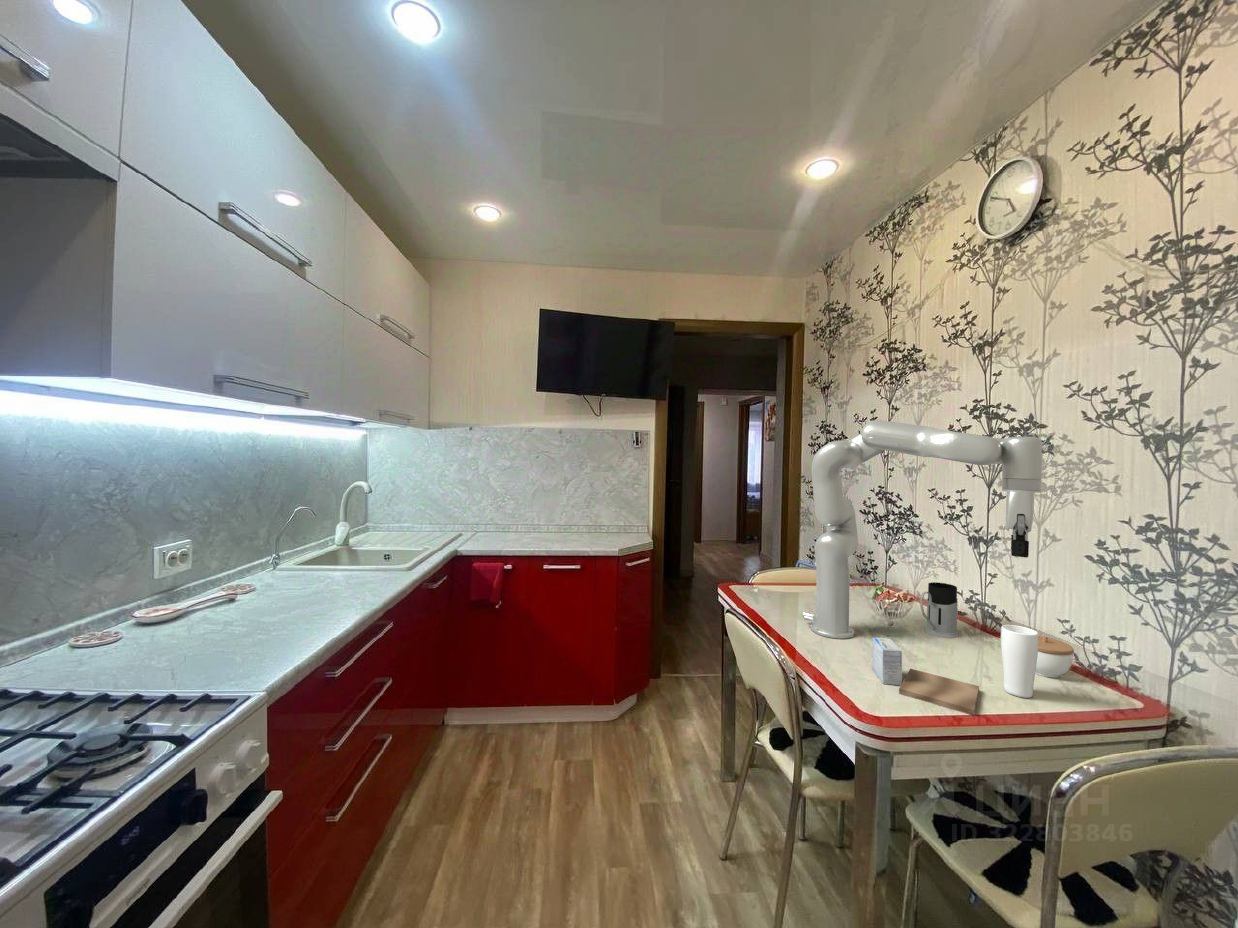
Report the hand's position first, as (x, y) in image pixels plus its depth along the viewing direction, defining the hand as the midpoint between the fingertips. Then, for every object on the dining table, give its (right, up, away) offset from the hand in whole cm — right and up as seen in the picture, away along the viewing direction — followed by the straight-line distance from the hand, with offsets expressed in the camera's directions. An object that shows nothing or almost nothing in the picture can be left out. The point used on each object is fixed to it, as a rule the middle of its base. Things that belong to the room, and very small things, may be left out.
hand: (1019, 553), depth 120 cm
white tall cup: (-8, -31, -9) cm, 33 cm away
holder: (-2, -31, +29) cm, 42 cm away
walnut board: (-26, -31, -9) cm, 41 cm away
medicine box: (-34, -31, -2) cm, 46 cm away
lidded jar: (+9, -31, +3) cm, 33 cm away
